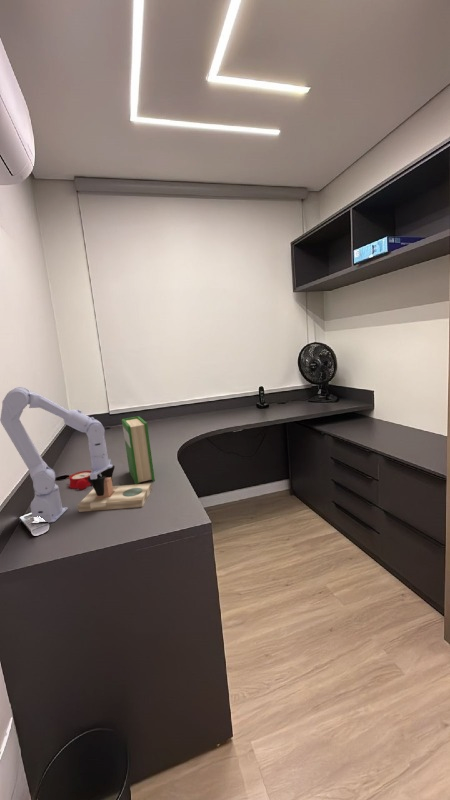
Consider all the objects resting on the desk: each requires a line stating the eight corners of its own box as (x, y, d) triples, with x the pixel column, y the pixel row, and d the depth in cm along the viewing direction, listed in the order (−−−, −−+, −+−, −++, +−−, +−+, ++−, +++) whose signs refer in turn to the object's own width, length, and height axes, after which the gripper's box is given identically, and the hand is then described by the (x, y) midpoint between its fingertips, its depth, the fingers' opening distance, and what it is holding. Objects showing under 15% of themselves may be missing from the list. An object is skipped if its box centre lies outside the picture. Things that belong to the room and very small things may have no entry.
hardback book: (154, 480, 139) (146, 422, 135) (136, 485, 136) (127, 426, 133) (146, 468, 155) (138, 416, 151) (129, 472, 152) (121, 419, 149)
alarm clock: (85, 469, 152) (102, 467, 141) (89, 482, 152) (106, 481, 141) (62, 477, 144) (77, 475, 134) (66, 491, 144) (81, 491, 134)
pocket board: (142, 506, 117) (141, 499, 116) (78, 511, 118) (77, 504, 117) (151, 489, 131) (151, 483, 130) (95, 494, 132) (93, 487, 131)
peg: (110, 503, 122) (106, 482, 121) (98, 504, 122) (94, 483, 121) (114, 497, 126) (111, 477, 125) (102, 498, 127) (99, 478, 125)
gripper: (102, 460, 114) (108, 498, 116) (116, 447, 129) (122, 481, 131) (81, 462, 115) (87, 500, 117) (98, 448, 129) (103, 483, 131)
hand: (104, 490), depth 124 cm, fingers open, 7 cm apart
